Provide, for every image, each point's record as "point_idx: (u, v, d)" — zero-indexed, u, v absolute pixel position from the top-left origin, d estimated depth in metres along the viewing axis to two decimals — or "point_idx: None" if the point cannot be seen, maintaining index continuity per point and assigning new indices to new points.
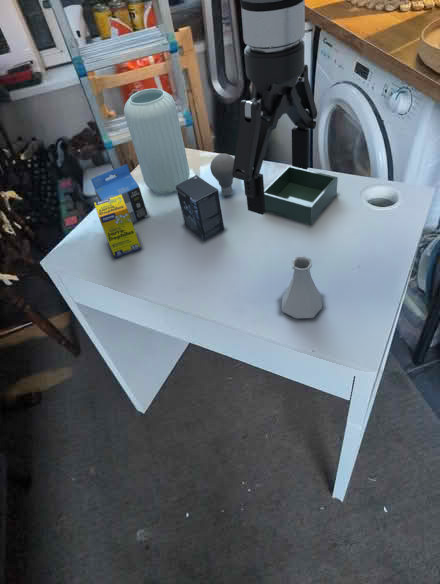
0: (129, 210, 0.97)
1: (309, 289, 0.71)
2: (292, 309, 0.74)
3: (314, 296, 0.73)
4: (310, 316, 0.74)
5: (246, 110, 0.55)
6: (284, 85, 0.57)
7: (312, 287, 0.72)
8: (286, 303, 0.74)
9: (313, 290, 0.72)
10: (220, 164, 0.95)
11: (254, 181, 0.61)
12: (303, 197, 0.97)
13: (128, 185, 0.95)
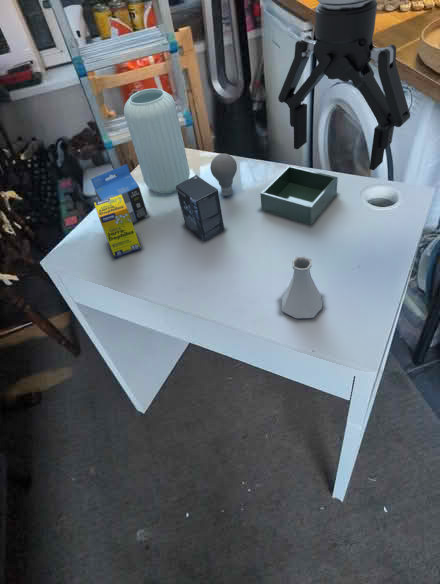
0: (129, 210, 0.97)
1: (309, 289, 0.71)
2: (292, 309, 0.74)
3: (314, 296, 0.73)
4: (310, 316, 0.74)
5: (390, 56, 0.55)
6: None
7: (312, 287, 0.72)
8: (286, 303, 0.74)
9: (313, 290, 0.72)
10: (220, 164, 0.95)
11: None
12: (303, 197, 0.97)
13: (128, 185, 0.95)
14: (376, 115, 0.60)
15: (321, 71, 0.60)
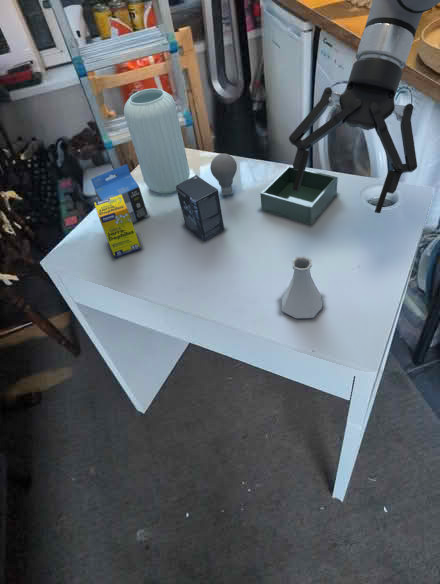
0: (129, 210, 0.97)
1: (309, 289, 0.71)
2: (292, 309, 0.74)
3: (314, 296, 0.73)
4: (310, 316, 0.74)
5: None
6: (370, 99, 0.66)
7: (312, 287, 0.72)
8: (286, 303, 0.74)
9: (313, 290, 0.72)
10: (220, 164, 0.95)
11: (299, 153, 0.71)
12: (303, 197, 0.97)
13: (128, 185, 0.95)
14: (313, 142, 0.72)
15: None
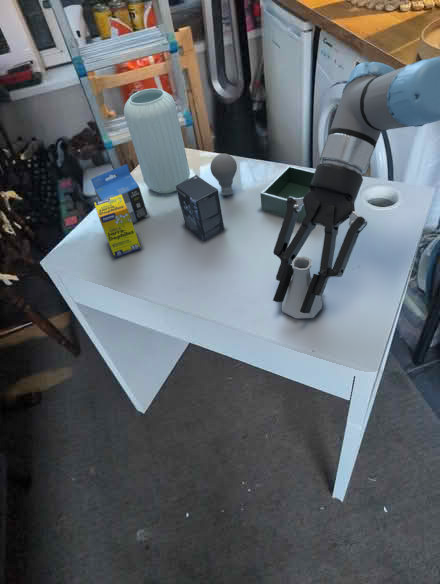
0: (129, 210, 0.97)
1: None
2: (292, 309, 0.74)
3: None
4: (310, 316, 0.74)
5: None
6: (335, 194, 0.68)
7: None
8: (286, 303, 0.74)
9: None
10: (220, 164, 0.95)
11: (283, 266, 0.72)
12: None
13: (128, 185, 0.95)
14: None
15: None
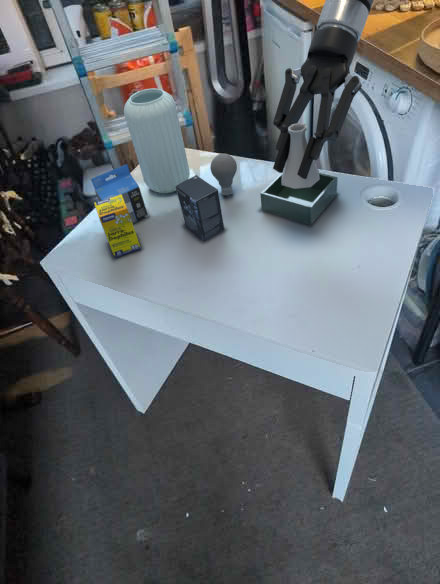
0: (129, 210, 0.97)
1: None
2: (290, 179, 0.78)
3: None
4: (307, 185, 0.77)
5: None
6: (331, 59, 0.71)
7: None
8: (284, 175, 0.78)
9: None
10: (220, 164, 0.95)
11: (282, 135, 0.76)
12: (303, 197, 0.97)
13: (128, 185, 0.95)
14: None
15: None
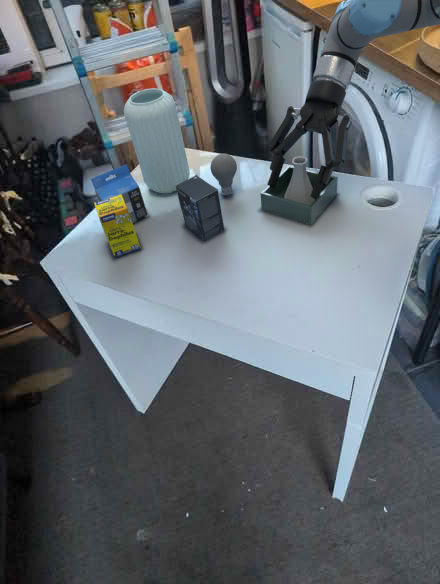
0: (129, 210, 0.97)
1: (305, 183, 0.92)
2: None
3: (309, 190, 0.93)
4: None
5: None
6: (321, 107, 0.88)
7: (307, 182, 0.92)
8: (287, 197, 0.95)
9: (308, 185, 0.92)
10: (220, 164, 0.95)
11: (275, 158, 0.94)
12: None
13: (128, 185, 0.95)
14: None
15: None
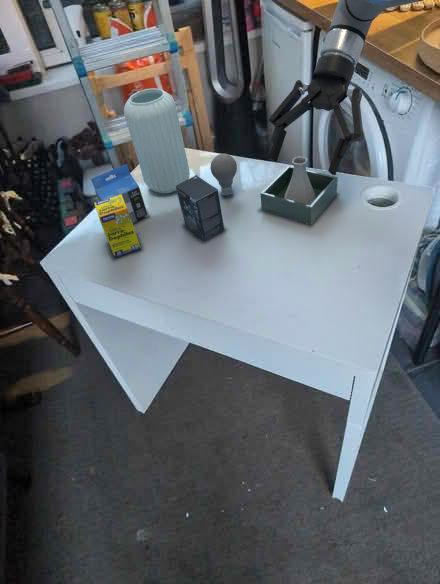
0: (129, 210, 0.97)
1: (305, 183, 0.92)
2: None
3: (309, 190, 0.93)
4: None
5: None
6: (328, 86, 0.86)
7: (307, 182, 0.92)
8: (287, 197, 0.95)
9: (308, 185, 0.92)
10: (220, 164, 0.95)
11: (276, 130, 0.92)
12: None
13: (128, 185, 0.95)
14: None
15: None
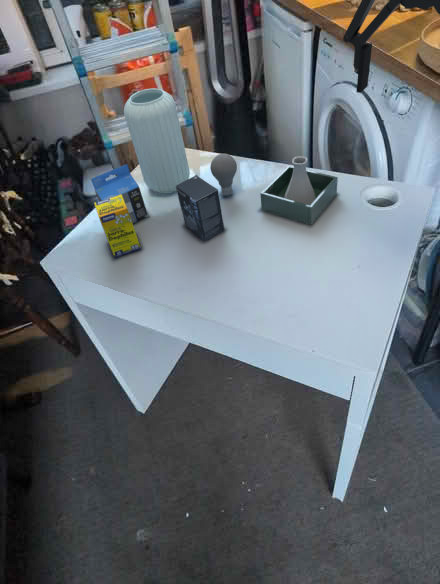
0: (129, 210, 0.97)
1: (305, 183, 0.92)
2: None
3: (309, 190, 0.93)
4: None
5: None
6: None
7: (307, 182, 0.92)
8: (287, 197, 0.95)
9: (308, 185, 0.92)
10: (220, 164, 0.95)
11: (358, 51, 0.67)
12: None
13: (128, 185, 0.95)
14: None
15: None
